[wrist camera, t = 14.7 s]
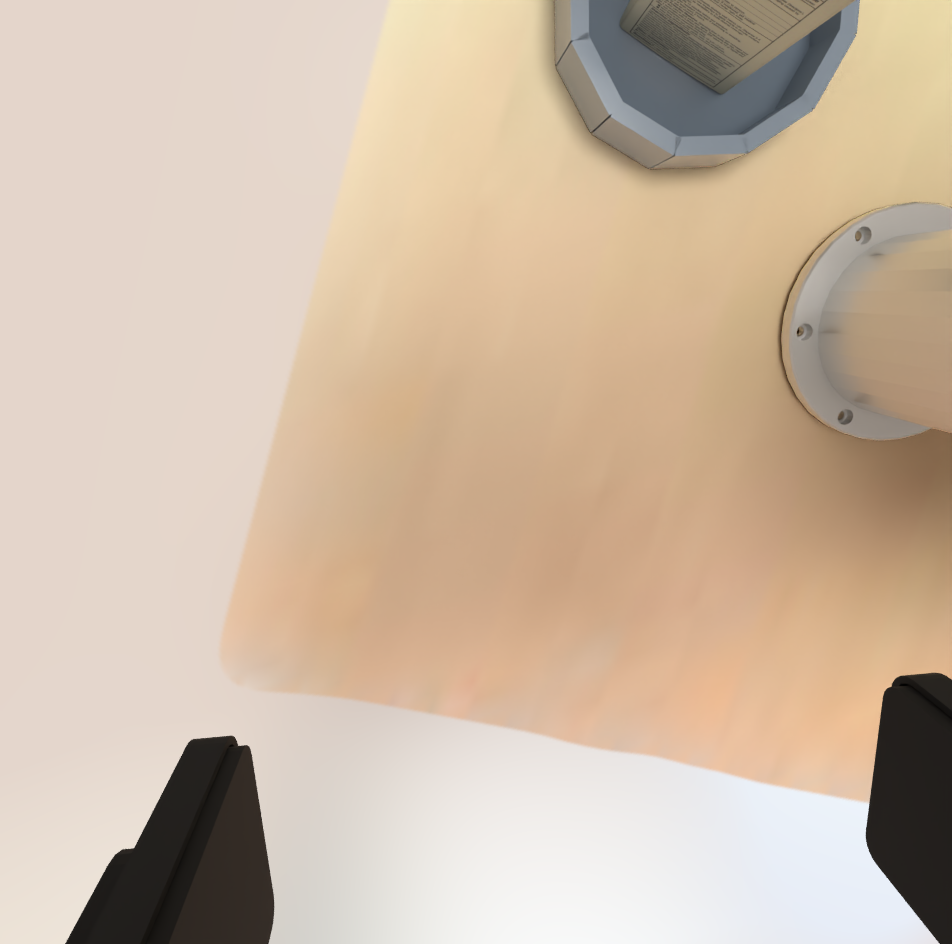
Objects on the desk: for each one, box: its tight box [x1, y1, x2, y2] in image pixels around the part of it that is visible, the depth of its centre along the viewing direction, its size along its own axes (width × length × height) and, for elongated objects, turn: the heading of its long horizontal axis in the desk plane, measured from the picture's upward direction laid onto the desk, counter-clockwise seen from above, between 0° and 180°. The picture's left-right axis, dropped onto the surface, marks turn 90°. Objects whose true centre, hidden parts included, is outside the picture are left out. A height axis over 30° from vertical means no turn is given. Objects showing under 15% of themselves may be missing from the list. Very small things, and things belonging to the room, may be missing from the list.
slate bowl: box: [554, 0, 860, 169], centre depth 31 cm, size 13×13×4 cm
